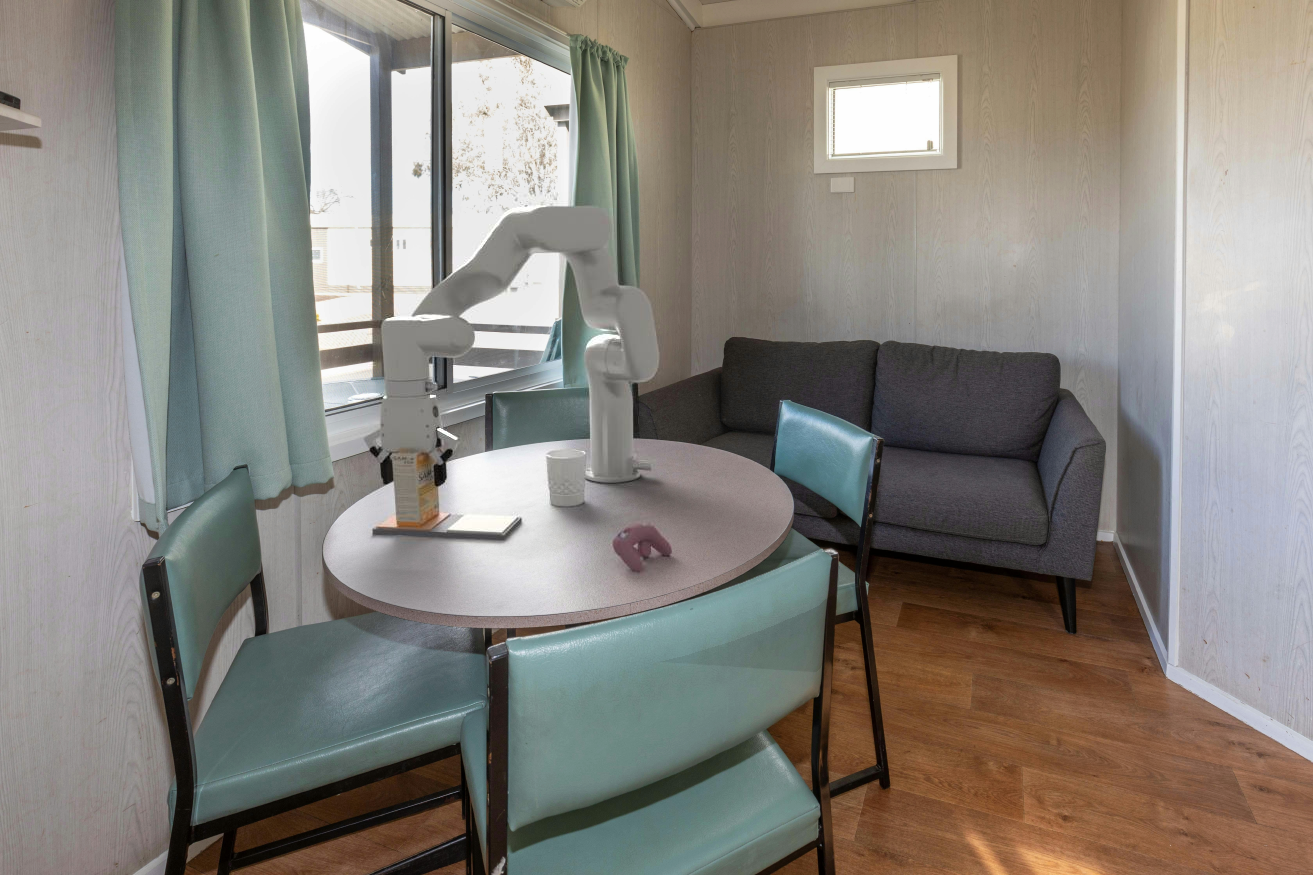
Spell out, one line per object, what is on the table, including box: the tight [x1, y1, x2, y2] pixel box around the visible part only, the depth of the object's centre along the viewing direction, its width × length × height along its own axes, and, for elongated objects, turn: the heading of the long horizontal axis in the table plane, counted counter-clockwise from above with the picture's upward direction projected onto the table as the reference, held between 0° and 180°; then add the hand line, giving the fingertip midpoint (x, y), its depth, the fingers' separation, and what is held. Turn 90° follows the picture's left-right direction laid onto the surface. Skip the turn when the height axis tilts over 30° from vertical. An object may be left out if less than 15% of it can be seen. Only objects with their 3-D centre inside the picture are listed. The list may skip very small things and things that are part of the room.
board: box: [371, 512, 523, 542], centre depth 144 cm, size 24×10×1 cm, turn 82°
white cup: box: [545, 448, 587, 508], centre depth 159 cm, size 8×8×10 cm
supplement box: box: [391, 452, 440, 527], centre depth 143 cm, size 8×5×13 cm, turn 170°
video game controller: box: [612, 522, 673, 573], centre depth 128 cm, size 10×5×7 cm, turn 146°
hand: (414, 483), depth 143 cm, fingers open, 9 cm apart
